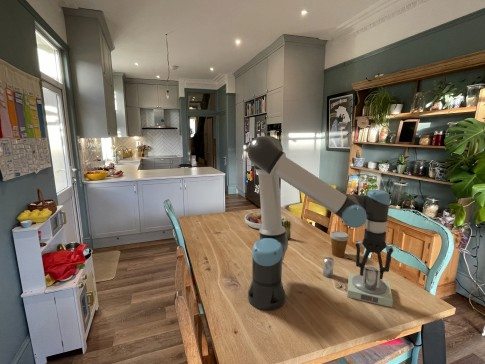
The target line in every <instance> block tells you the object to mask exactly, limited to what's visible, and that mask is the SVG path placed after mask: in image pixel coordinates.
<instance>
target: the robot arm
mask: <svg viewBox="0 0 485 364" xmlns="http://www.w3.org/2000/svg"><path fill="white" fill-rule="evenodd" d="M247 156H248V160H249V161H250V162H251V163H252V164H253V167H254V168H253V169H254V171H256V173H257V174H258V183H259V184H258V185H259V197H260V199H259V200H260V211H261V215H262V227H261V228H260V229H258V234H259V239H258V240H257V241H255V242H254V243H253V246H252V250H251V253H252V254H251V256H252V260H251V261H252V265H251V266H252V268H251V270H252V272H251V273H252V275H251V277H252V278H251V283H250V285H249V287H248V290H247V300H248V302H249V303H250V305H251V306H253V307H254V308H256V309H259V310H263V311H274V310H277V309H279V308H282V306H284V305H285V303H286V292H285V288H284V285H283V282H282V275H283V274H282V273H283V264H284V263H283V262H284V258H285V256H286V253H287V250H288V247H289V239H287V236H286V229H285V228H284V227H283V226H284V225H283V226H282V219H281V215H282V205H281V204H282V203H281V193H280V192H281V188H280V179H281V180H283V181H284V182H286V183H288V184H289V185H290V186H292V188H294V189H295V190H298V191H299V192H301V193H302V194H303V195H305V196H307V197H308V198H310V199H312V200H313V201H314V202H316V203H317V204H319V205H320V206H322V207H324V208H325V209H326V210H328V211H329V212H331V213H332V214H334V215H336V216H337V217H338V218H340V219H342V221H343V224H345V225H346V226H348V227H349V228H353V229H357V228H361V227H362V226H364V228H365V229H364V233H363V234H364V235H363V239H362V241H355V248H356V256H355V267H359V275H361V276H363V278H362V284H363V285H364V284H365V272H366V267H367V266H366V264H367V260H368V258H369V256H370V254H371V253H373V254H377V260H378V267H379V268H376V269H377V270H378V274H377V284H376V287H378V288H379V279H380V280H384V279H383V278H384V273H388V272H389V271H390V267H391V259H392V258H391V257H392V254H393V252H394V248H393V246H391V245H387V242H386V241H387V240H386V239H387V229H388V216H389V208H390V193H389V192H388V191H386V190H381V189H370V190H368V191H367V194H365V195H364V194H362V195H361V194H350V193H349V194H348V193H343V192H341V191H339V190H338V189H336V188H335V187H333V186H332V185H330V184H328V183H327V182H326V181H324V180H323V179H320V178H319V177H318V176H316V175H315V174H313V173H312V172H310V171H309V170H307V169H305V168H304V167H302V166H301V165H300V164H297V163H296V162H295V161H293V160H291V159H290V158H288V157H287V155H286V152H284V148H283V145H282V143H281V141H280V140H279V139H278V138H276V137H275V136H273V135H263V136H262V135H260V136H257V137H255V138H253V139H252V140H251V142H250V143H249V144H248V147H247ZM362 246H363V247H364V248H365V252H364V254H363V257H362V259H361V262H360V257H361V256H360V255H361V248H362ZM383 250H385V251H386V256H385V265H383V261H382V259H383V258H382V254H381V252H383Z"/></svg>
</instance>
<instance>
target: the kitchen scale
mask: <svg viewBox="0 0 485 364" xmlns="http://www.w3.org/2000/svg"><path fill="white" fill-rule="evenodd" d="M362 278H363V276H361V275H360V274H356V273H355V274H353V273H348V279H347V282H348V283H347V293H346V294H347V295H346V297H347V298H351V299H354V300H359V301H364V302H368V303H371V304H376V305H379V306H380V305H381V306H384V307H388V308H393V304H394V303H393V302H394V299H393V295H392V290H391V285H390V281H389V280H384V279H379V288H378V287H376V290H374V291H371V290H368V289H366V288H365V287H364V285H363V284H362Z"/></svg>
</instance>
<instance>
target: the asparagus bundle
mask: <svg viewBox="0 0 485 364" xmlns="http://www.w3.org/2000/svg"><path fill="white" fill-rule="evenodd" d="M282 226H283V227H284V228H285V229H286V236H287V239H288V240H289V239H291V235H292V234H291V232H292V231H291V221H290V220H285V221H284V225H283V220H282Z"/></svg>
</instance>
